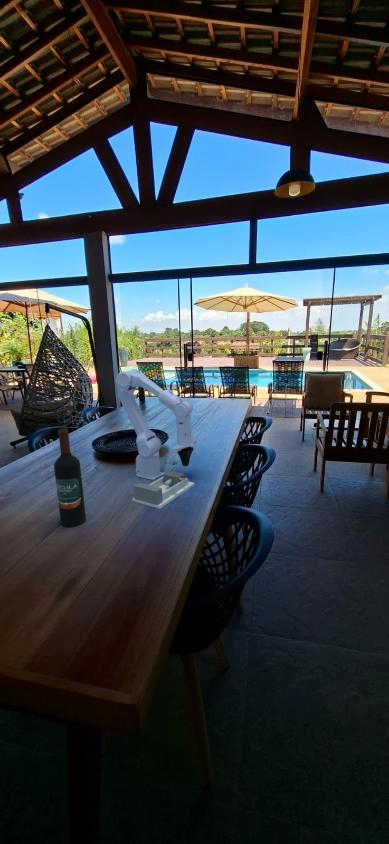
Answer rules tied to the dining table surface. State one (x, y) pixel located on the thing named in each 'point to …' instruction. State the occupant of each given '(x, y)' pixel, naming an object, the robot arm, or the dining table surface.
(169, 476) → the block with orange peg
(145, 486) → the gauge frame
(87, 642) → the dining table surface
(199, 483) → the dining table surface
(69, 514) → the wine bottle
